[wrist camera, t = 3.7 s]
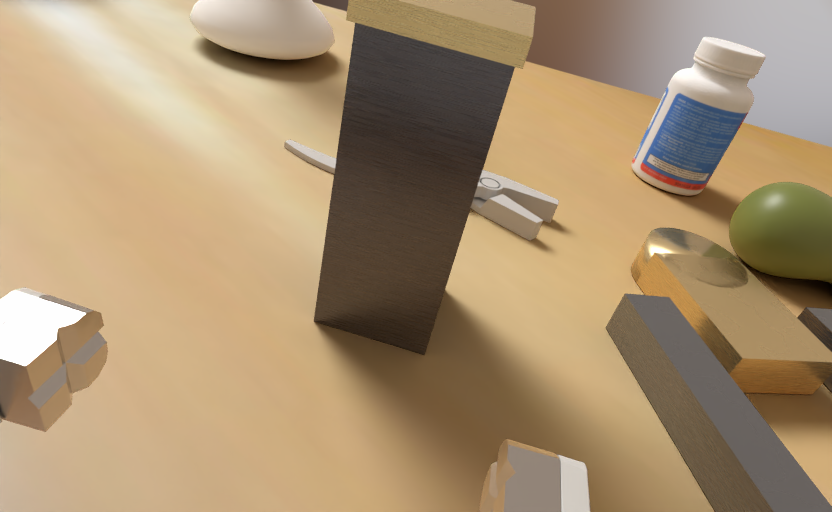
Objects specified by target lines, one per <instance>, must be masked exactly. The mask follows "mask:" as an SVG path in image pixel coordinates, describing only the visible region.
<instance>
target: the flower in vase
mask: <svg viewBox="0 0 832 512" xmlns="http://www.w3.org/2000/svg"><path fill="white" fill-rule="evenodd" d="M190 21H191V23H192V24H193V26H194V28H195V29H196V31H197V32H198V33H199V34H201V35H202V36H203V37H205V38H207V39H208V40H210V41H212V42H214V43H216V44H218V45H220V46H222V47H224V48H227V49H230V50H233V51H236V52H239V53H243V54H247V55H251V56H256V57H263V58H270V59H282V60H292V59H304V58H309V57H314V56H318V55H321V54H323V53H325V52H327V51H328V50H329V49H330V47H331V46H332V45H333V44H334V42H335V39H334V34H333V30H332V27H331V26H330V24H329V23H328V21H327V19H326V18H325V16H324V15H323V13H322V12H321V11H320V10H319V9H318V8H317V6H316V5H315V4H314V3H313V2H312V0H199V1H198V2H197V3H196V4H195V5H194V6H193V9H192V11H191V14H190Z"/></svg>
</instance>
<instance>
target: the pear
mask: <svg viewBox="0 0 832 512" xmlns="http://www.w3.org/2000/svg"><path fill="white" fill-rule="evenodd" d="M729 237H730V242H731V245H732V247H733V249H734V250H735V252H736V253H737V255H738V256H739V257H740V258H741V259H742V260H743V261H744V262H745V263H746V264H748V265H749V266H750V267H752V268H754V269H756V270H758V271H760V272H763V273H766V274H769V275H774V276H779V277H786V278H797V279H813V280H822V281H826V282H829V283H831V284H832V197H830V196H829V195H827V194H825V193H823V192H821V191H819V190H817V189H815V188H813V187H810V186H807V185H804V184H800V183H793V182H779V183H773V184H769V185H766V186H763V187H761V188H759V189H757V190H755V191H754V192H752V193H751V194H749V195H748V196H747V197H746V198H745V199H744V200H743V201H742V202H741V203H740V204H739V205H738V207H737V208H736V210H735V212H734V214H733V216H732V218H731V221H730V226H729Z"/></svg>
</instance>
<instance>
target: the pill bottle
mask: <svg viewBox="0 0 832 512" xmlns="http://www.w3.org/2000/svg"><path fill="white" fill-rule="evenodd" d="M765 57H766V56H765V55H764V54H762V53H761V52H759V51H756V50H754V49H751V48H748V47H745V46H742V45H739V44H736V43H733V42H729V41H725V40H722V39H717V38H712V37H704V38H703V39H702V41H701V43H700V44H699V47H698V49H697V51H696V52H695V56H694V60H695V64H694V65H693V67H692V68H687V69H682V70H680V71H678V72H677V73H675V74H674V76H673V77H672V79H671V81H670V83H669V85H668V87H667V89H666V91H665V93H664V95H663V97H662V99H661V101H660V103H659V106H658V108H657V110H656V112H655V114H654V116H653V118H652V120H651V122H650V124H649V126H648V128H647V131H646V133H645V135H644V137H643V139H642V141H641V143H640V145H639V147H638V150H637V152H636V154H635V156H634V158H633V161H632V169H633V171H634V172H635V173H636V175H637V176H639V177H640V178H641V179H642V180H644V181H645V182H647V183H649V184H651V185H653V186H655V187H657V188H660V189H662V190H665V191H668V192H671V193H675V194H680V195H686V196H690V195H696V194H699V193H700V192H701V191H702V190H703V189H704V188H705V186H706V184H707V183H708V181H709V179H710V177H711V176H712V174H713V172H714V170H715V169H716V167H717V165H718V164H719V162H720V160H721V158H722V157H723V155H724V153H725V151H726V150H727V148H728V146H729V145H730V143H731V141H732V140H733V138H734V136H735V134H736V133H737V131H738V129H739V128H740V126H741V124H742V122H743V121H744V119H745V117H746V115H747V114H748V112H749V110H750V108H751V106H752V104H753V101H754V97H753V94H752V91H751V90H750V89H749V88H748V87H747V83H748V81H749V79H750V78H754V77H755V75H756V74H758V71H759V69H760V67H761V66H762V64H763V62H764V60H765Z"/></svg>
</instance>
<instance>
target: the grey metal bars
mask: <svg viewBox="0 0 832 512" xmlns="http://www.w3.org/2000/svg"><path fill="white" fill-rule="evenodd" d="M798 319H799V320H800V321H801V322H802V323H803V324H804V325H805V326H806V327H807V328H808V329H809V330H810V331H811V332H812V333H813V334H814V335H815V336H816V337H817V338H818V339H819V340H820V341H821V342H822V343H823V344H824V345H825V346H826V347H827V348H828V349H829V350H830V351H831V352H832V309H822V308H808V307H806V308H805V309H804V310H803V312H802V313H801V314H800V315H799V316H798ZM606 329H607V330H608V332H609V334H610V335H611V337H612V339H613V341H614V342H615V344H616V346H617V347H618V349H619V351H620V352H621V354H622V356H623V357H624V359H625V361H626V362H627V364H628V366H629V367H630V369H631V371H632V372H633V374H634V376H635V377H636V379H637V381H638V383H639V384H640V386H641V388H642V389H643V391H644V393H645V394H646V396H647V398H648V399H649V401H650V403H651V404H652V406H653V408H654V409H655V411H656V413H657V414H658V416H659V418H660V419H661V421H662V423H663V425H664V426H665V428H666V430H667V431H668V433H669V435H670V436H671V438H672V440H673V441H674V443H675V445H676V446H677V448H678V450H679V451H680V453H681V455H682V456H683V458H684V460H685V461H686V463H687V465H688V467H689V468H690V470H691V472H692V473H693V475H694V477H695V478H696V480H697V482H698V483H699V485H700V487H701V488H702V490H703V492H704V493H705V495H706V497H707V498H708V500H709V502H710V503H711V505H712V507H713V509H714V510H715V512H832V506H831V505H830V504H829V503H828V501H827V500H826V499H825V497H824V496H823V495H822V493H821V492H820V491H819V490H818V488H817V487H816V486H815V484H814V483H813V482H812V481H811V479H810V478H809V477H808V475H807V474H806V473H805V472H804V470H803V469H802V468H801V466H800V465H799V464H798V463H797V461H796V460H795V459H794V457H793V456H792V455H791V453H790V452H789V451H788V450H787V448H786V447H785V446H784V444H783V443H782V442H781V441H780V439H779V438H778V437H777V435H776V434H775V433H774V432H773V430H772V429H771V428H770V426H769V425H768V424H767V423H766V421H765V420H764V419H763V417H762V416H761V415H760V414H759V412H758V411H757V410H756V408H755V407H754V406H753V404H752V403H751V402H750V401H749V399H748V398H747V397H746V395H745V394H744V393H743V392H742V390H741V389H740V388H739V386H738V385H737V384H736V383H735V381H734V380H733V379H732V377H731V376H730V375H729V374H728V372H727V371H726V370H725V368H724V367H723V366H722V365H721V363H720V362H719V361H718V359H717V358H716V357H715V355H714V354H713V353H712V352H711V350H710V349H709V348H708V346H707V345H706V344H705V343H704V341H703V340H702V339H701V337H700V336H699V335H698V334H697V332H696V331H695V330H694V328H693V327H692V326H691V325H690V323H689V322H688V321H687V319H686V318H685V317H684V316H683V314H682V313H681V312H680V310H679V309H678V308H677V306H676V305H675V304H674V303H673V301H672V300H671V299H670V297H663V296H649V295H636V294H624V296H623V298H622V300H621V301H620V303H619V305H618V307H617V309H616V310H615V312H614V314H613V316H612V317H611V319H610V321H609V323H608V324H607V326H606ZM824 384H825V385H826V386H827V387H828V388H829V390H830V391H831V392H832V374H831V375H830V376H829V377H828V378H827V379H826V380H825V381H824Z"/></svg>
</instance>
